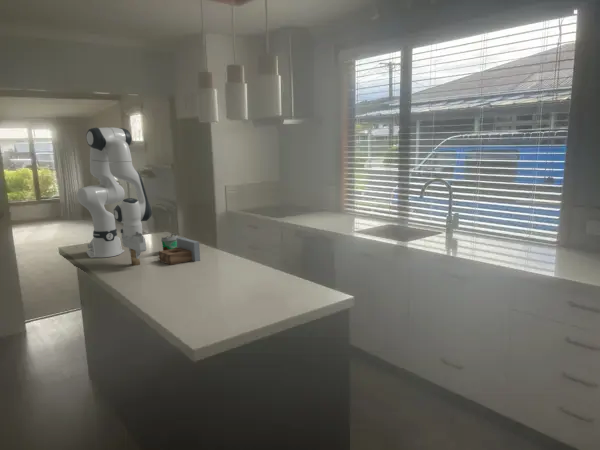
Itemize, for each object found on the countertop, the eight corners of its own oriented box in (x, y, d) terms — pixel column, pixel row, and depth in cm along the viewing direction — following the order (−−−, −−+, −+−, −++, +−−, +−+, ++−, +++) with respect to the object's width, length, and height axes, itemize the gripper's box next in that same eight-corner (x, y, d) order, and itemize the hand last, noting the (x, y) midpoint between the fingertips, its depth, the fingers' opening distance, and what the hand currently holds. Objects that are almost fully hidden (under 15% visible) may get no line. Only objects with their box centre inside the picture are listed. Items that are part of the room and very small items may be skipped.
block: (159, 260, 229) (159, 251, 228) (180, 256, 237) (179, 247, 236) (171, 264, 221) (170, 255, 220) (192, 260, 229) (191, 251, 228)
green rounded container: (172, 255, 239) (171, 238, 238) (162, 255, 241) (161, 237, 239) (183, 250, 251) (181, 233, 250) (173, 250, 253) (171, 233, 251)
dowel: (130, 264, 223) (129, 249, 222) (138, 263, 226) (136, 247, 225) (133, 266, 220) (132, 250, 219) (141, 264, 223) (140, 249, 222)
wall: (177, 255, 239) (176, 237, 238) (182, 254, 241) (181, 237, 240) (195, 261, 227) (194, 242, 225) (200, 260, 229) (199, 241, 227)
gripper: (148, 232, 215) (150, 259, 217) (130, 227, 229) (132, 253, 232) (136, 234, 211) (138, 262, 213) (118, 229, 225) (121, 255, 228)
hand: (135, 257), depth 223 cm, fingers closed on dowel, 4 cm apart
